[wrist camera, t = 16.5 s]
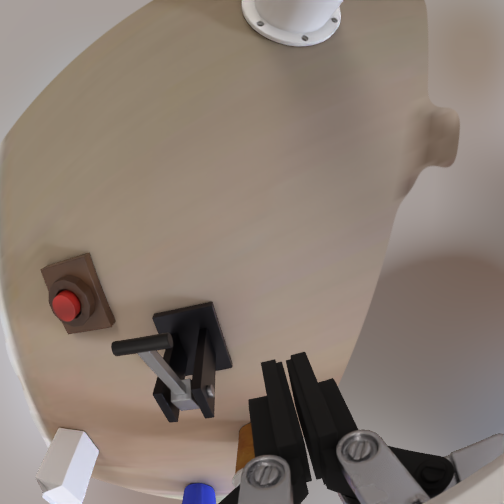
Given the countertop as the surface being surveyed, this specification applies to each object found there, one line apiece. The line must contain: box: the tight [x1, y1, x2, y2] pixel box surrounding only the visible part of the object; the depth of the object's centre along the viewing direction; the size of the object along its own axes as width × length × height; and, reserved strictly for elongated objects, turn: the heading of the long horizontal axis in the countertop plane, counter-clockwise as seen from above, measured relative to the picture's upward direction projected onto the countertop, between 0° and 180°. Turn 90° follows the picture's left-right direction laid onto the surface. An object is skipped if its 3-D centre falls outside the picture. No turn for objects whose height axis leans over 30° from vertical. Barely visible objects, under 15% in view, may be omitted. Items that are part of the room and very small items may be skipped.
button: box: [53, 290, 81, 321], centre depth 31 cm, size 4×4×2 cm
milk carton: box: [36, 428, 99, 504], centre depth 34 cm, size 7×7×19 cm
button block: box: [41, 253, 115, 334], centre depth 33 cm, size 10×8×4 cm
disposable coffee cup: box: [232, 423, 255, 487], centre depth 38 cm, size 10×10×12 cm
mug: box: [182, 483, 216, 504], centre depth 44 cm, size 8×12×10 cm
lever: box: [111, 333, 200, 411], centre depth 24 cm, size 12×5×2 cm, turn 12°
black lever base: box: [152, 302, 232, 422], centre depth 31 cm, size 10×8×13 cm
